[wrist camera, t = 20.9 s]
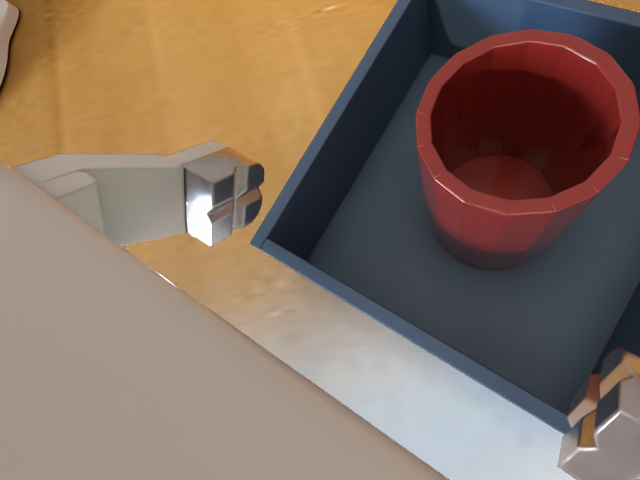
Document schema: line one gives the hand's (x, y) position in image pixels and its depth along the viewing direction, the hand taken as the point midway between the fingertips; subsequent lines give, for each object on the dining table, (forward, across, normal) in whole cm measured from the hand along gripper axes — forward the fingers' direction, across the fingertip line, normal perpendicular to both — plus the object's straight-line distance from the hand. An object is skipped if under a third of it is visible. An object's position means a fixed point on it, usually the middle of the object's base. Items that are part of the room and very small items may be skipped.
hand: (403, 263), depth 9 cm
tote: (+14, 0, +5) cm, 15 cm away
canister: (+13, 0, +5) cm, 14 cm away
